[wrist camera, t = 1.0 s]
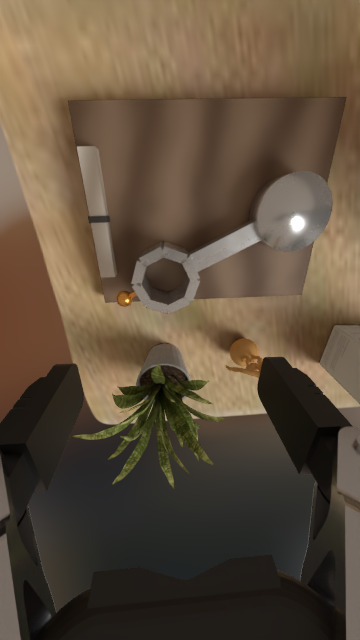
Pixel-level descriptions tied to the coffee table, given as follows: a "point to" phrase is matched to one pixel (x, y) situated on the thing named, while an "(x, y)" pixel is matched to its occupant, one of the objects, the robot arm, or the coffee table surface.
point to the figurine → (245, 357)
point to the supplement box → (344, 358)
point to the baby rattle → (242, 237)
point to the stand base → (196, 183)
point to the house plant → (159, 409)
